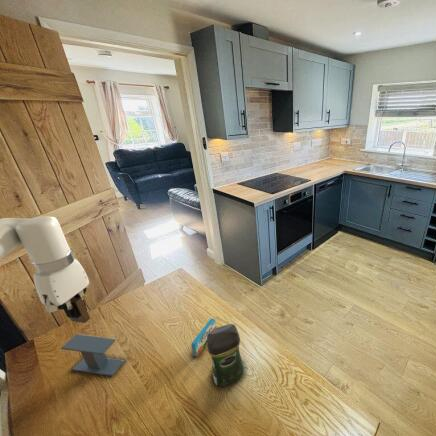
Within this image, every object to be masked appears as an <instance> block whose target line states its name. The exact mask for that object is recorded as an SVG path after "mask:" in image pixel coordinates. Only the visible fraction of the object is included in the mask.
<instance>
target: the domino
mask: <svg viewBox="0 0 436 436" xmlns="http://www.w3.org/2000/svg"><path fill="white" fill-rule="evenodd" d="M70 302H71V304H72V306H73V307H76V309H77V311H78V314H79V318H69V319H70V321H71V322H74V323H83V324H86V323H88V321H89V320H90V319H91V316H90V314H89V312H88V310H87V309H88V308H87V309H86V307H87V306H86V307H85V305H84V303H83V300H82V298H76V297H72V298H71V299H70Z"/></svg>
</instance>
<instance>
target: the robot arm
mask: <svg viewBox="0 0 436 436" xmlns="http://www.w3.org/2000/svg"><path fill="white" fill-rule="evenodd" d="M22 246H23V248H24V250H25V253H26V254H27V256H28V259H29V260H30V262H31V264H32V266H33V268H34V269H35V273H34V274H33V283H34V288H35V290H36V293H37V295H38V298H39V300H40V303H41V304H42V305H44V306H45V312H46V313H49V314H52V313H55V312H57V311H59V310H63V311H64V313H65V315H66V317H67V318H68V319H70V318H79V314H78V311H77V309H76V307H73V306H72V304H71V302H70V299H71V298H72V297H76V298H82V300H83V303H84V305H85V307H86V309H87V311H88V307H87V304H86V303H87V302H86V300H85V299H86V292H87V289H89V287H90V286H91V284H92V281H90V280H89V277H88V275H87V273H86V270H85V269H84V267H83V265H82V264H81V263H80V261H78V259H77V258H75V257H74V255H73V254H74V253H75V252H76V250H75V249H74V248H70V246H69V243H68V241H67V238H66V237H65V234H64V231H63V230H62V227H61V225H60V222H59V220H58V219H57V218H56V217H53V216H50V215H49V216H48V215H46V216H45V215H43V216H34V217H31V218H19V217H3V218H0V261H2V260H3V259H4V258H6V257H7V256H8V255H10V254H11V253H12V252H14V251H15V250H16V249H18V248H20V247H22Z"/></svg>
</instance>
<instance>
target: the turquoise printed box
mask: <svg viewBox="0 0 436 436" xmlns="http://www.w3.org/2000/svg"><path fill="white" fill-rule="evenodd" d="M216 328H217V323H216V318H213V317H211V318H210V319H209V320H208V321H207V322H206V324H205V325H204V327H203V328H202V329H201V330H200V332H199V333H198V334H197V335H196V337H195V338H194V339H193V341H192V342H191V344H190V345H191V346H190V347H191V351H192V355H193V357H198V356H199V355H200V354H201V352H202V350H203V349H204V348H205V347H206V346H207V335H208V333H209V332H211V331H212V330H214V329H216Z"/></svg>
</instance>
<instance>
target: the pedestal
mask: <svg viewBox="0 0 436 436" xmlns="http://www.w3.org/2000/svg"><path fill="white" fill-rule="evenodd" d="M116 341H117V339H116V338H110V337H109V338H107V337H101V336H95V335H94V336H93V335H87V334H79V333H76V334H74V335H73V336H72V337H71V338H70V339H69V340H68V341H67V342H66V343H64V344H63V345H62V346H61V347H60V350H66V351H74V352H80V354H81V356H82V359H81V360H80V361H79V362H78V363H77V364H76V365H75V366H74V367H73V368H72V371H75V372H81V373H87V374H94V375H95V374H96V375H101V376H110V377H113V376H114V375H115V374H116V373H117V371H118V370H119V369H120V367H121V366H123V364H124V362H125V360H123V359H118V358H109V357H107V356H106V352H107V351H108V350H109V349H110V348H111V347H112V346H113V344H115V342H116Z"/></svg>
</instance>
